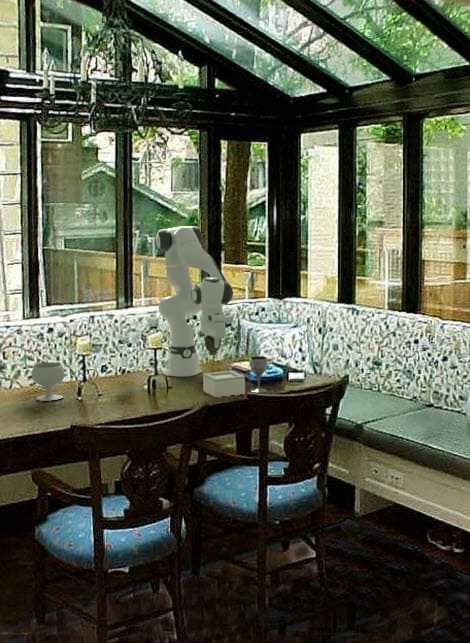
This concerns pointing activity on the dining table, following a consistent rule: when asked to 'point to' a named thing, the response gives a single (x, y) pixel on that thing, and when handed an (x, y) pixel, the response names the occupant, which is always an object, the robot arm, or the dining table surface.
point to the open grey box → (223, 383)
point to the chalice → (48, 378)
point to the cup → (211, 345)
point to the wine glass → (258, 369)
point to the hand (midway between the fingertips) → (212, 346)
